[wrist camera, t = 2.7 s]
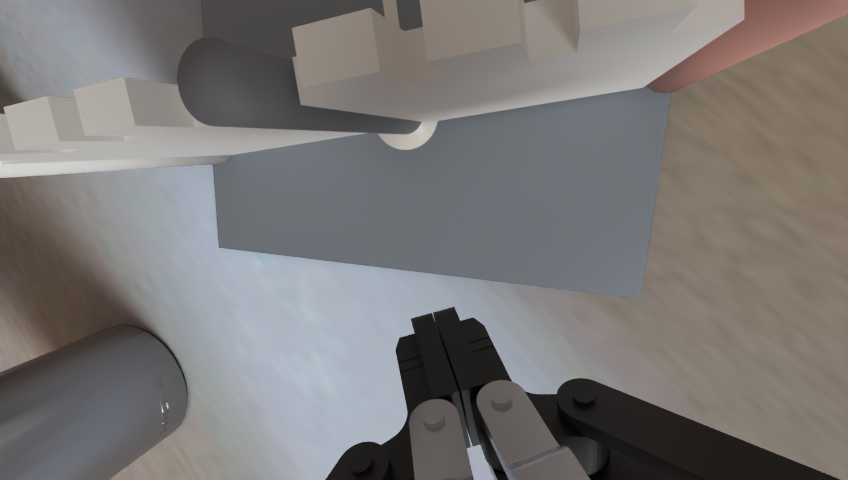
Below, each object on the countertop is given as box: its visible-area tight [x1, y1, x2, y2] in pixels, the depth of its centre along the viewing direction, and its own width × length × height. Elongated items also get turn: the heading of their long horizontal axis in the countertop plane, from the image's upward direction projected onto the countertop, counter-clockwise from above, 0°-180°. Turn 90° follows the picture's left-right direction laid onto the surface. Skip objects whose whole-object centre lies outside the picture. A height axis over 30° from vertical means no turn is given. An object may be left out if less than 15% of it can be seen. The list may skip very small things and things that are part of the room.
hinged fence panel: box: [292, 0, 848, 123], centre depth 15 cm, size 12×2×14 cm, turn 98°
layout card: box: [202, 0, 672, 299], centre depth 23 cm, size 25×25×1 cm
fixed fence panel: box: [0, 37, 421, 178], centre depth 19 cm, size 14×2×14 cm, turn 98°
